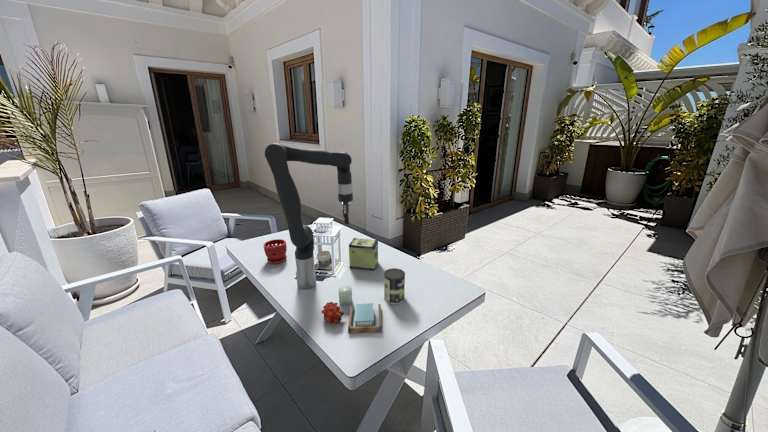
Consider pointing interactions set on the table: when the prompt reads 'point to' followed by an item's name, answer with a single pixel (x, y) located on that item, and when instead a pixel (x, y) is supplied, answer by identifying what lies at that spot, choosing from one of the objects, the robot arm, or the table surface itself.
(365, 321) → the teal carton
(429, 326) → the table surface
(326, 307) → the dragon fruit
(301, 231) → the robot arm
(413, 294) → the table surface
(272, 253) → the plant pot
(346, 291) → the pale green dome
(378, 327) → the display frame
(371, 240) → the protein box
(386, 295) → the coffee can
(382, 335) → the table surface
